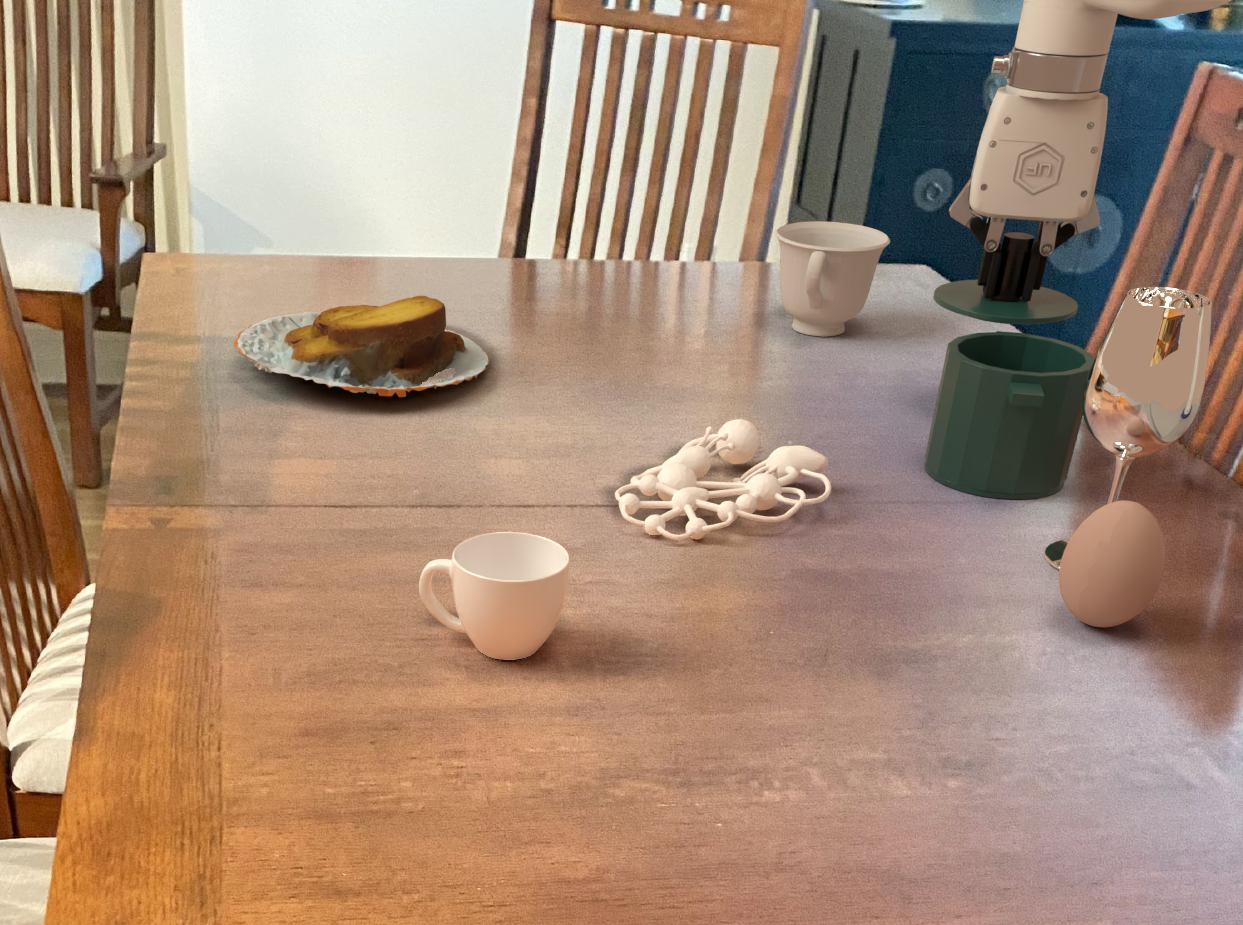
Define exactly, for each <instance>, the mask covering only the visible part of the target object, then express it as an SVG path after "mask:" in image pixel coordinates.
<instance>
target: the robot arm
mask: <svg viewBox="0 0 1243 925" xmlns="http://www.w3.org/2000/svg"><path fill="white" fill-rule="evenodd" d="M1232 1H1233V0H1023V4H1022V8H1021V14H1020V18H1019V23H1018V27H1017V32H1016V33H1017V34H1016V37H1015V43H1014V46H1013V47H1012V50H1011V51H1009V52H1008V54H1004V55H1003V56H1001V55H998V56H997V55H994V57H993V61H992V65H991V74H994V75H999V76H1000V77H1001V76H1002V77H1004V79H1005V81H1006V84H1005V86H1001V87H998V88H997V90H996V92H995V95H994V97H993V100H992V102H991V105H990V107H989V110H988V113H987V117H986V120H985V123H984V126H983V129H982V132H981V136H980V139H979V142H978V146H977V150H976V154H975V158H974V162H973V166H972V169H971V175H970V178H969V179H968V181H967V183H966V184H965V185H964V187H963V188H962V189H961V191H960V192H959V194H958V195H957V197H956V198H955V199H954V201H953V202H952V204H951V205H950V206H949V209H948V213H949V216H950V218H952V220H955V221H956V222H958V223H959V224H960V225H963V226H964V227H966V228H968V229H969V230H970V231H971V232H972V233H973V235H974V236H975V237H976V238H977V240H978V241H979V243H980V244H981V245H982V247H983V253H982V257H981V262H980V267H979V272H978V276H977V280H978V282H977V284H978V286H983V294H984V298H991V297H993V296H994V291H995V287H996V282H997V277H998V273H999V268H1000V264H1001V259H1002V252H1001V247H1002V243H1001V239H1002V235H1003V231H1004V227H1005V224H1006V221H1007V220H1008V219H1010V220H1024V221H1025V220H1026V221H1038V222H1039V225H1038V231H1037V237H1036V241H1034V242H1033V247H1032V251H1031V255H1030V259H1029V264H1028V268H1027V272H1026V277H1025V281H1024V286H1023V290H1022V294H1021V298H1022V299H1023V300H1024V301H1030V300H1031V296H1032V292H1033V290H1040V287H1042V282H1043V278H1044V274H1045V269H1046V265H1047V261H1048V257H1049V256H1051V255H1052V254H1053V253H1054V251H1055V250H1056V249H1058V248H1059V247H1060V246H1062V245H1063V244H1064V243H1066V242H1067V241H1068V240H1070V239H1071V238H1072V237H1074V236H1076V235H1080V234H1083V233H1085V232H1088V231H1091V230H1093V229H1096V228H1099V226H1100V224H1101V216H1100V212H1099V208H1098V205H1097V199H1096V195H1095V190H1096V186H1097V181H1098V175H1099V171H1100V166H1101V160H1102V155H1103V149H1104V143H1105V136H1106V127H1107V119H1108V107H1109V97H1108V96H1107V95H1106V94H1104V93H1101V92H1100V89H1101V85H1102V80H1103V76H1104V72H1105V70H1106V64H1107V60H1108V57H1109V52H1110V48H1111V44H1112V40H1113V35H1114V31H1115V27H1116V23H1117V20H1118V14H1119V15H1121V16H1124V17H1128V18H1132V19H1138V20H1158V19H1165V18H1171V17H1177V16H1179V15H1180V16H1181V15H1187V14H1193V13H1200V12H1205V11H1206V12H1207V11H1209V10H1213V9H1217V8H1219V7H1222V6H1224V5H1226V4H1228V3H1230V2H1232ZM984 217H987V219H986V220H985V219H984Z"/></svg>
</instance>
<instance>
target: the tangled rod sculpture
mask: <svg viewBox="0 0 1243 925" xmlns="http://www.w3.org/2000/svg"><path fill="white" fill-rule="evenodd" d="M760 435H761V434H760V432H759V430H758V428H757V427H756V425H754V424H753V423H752V422H751V421H749V420H746V419H744V418H743V419H742V418H736V419H730V420H729V421H727V422H725V423H724V424H723V425H722V426H721V427H720V428H719V429H718V432H717V433H714V428H713V426H707V427H706V428H705V434H704V436H700V437H697V438H695V439H691V440H690V441H688V442H687V443H685V444H683V446H682V447H680V449H679V451H677V453H676V454H674V455H672V456H671V457H668V459H666V460H665V461H664V462H663V463H662V464H660V465H657V466H654V467H651V468H648V469H646V470H645V471H644V472H642V473H640V474H636V475H633V476H632V477H631V479H630V483H628V484H625V485H622V486H620V487H619V488H618V489H616V490H615V492H614V498H615V500H616V501H617V502H618V508H619V511H620V514H621V516H622V517H623V519H624V520H625V521H627V522H629V523H630V524H632V525H635V526H639V527H643V529H644V532H645V533H646V534H647V533H648V534H649V535H648V534H647V535H648V536H650V535H659V536H660V535H662V536H664V538H667V539H670V540H674V541H681V540H682V541H683V540H686V539H689V538H690V539H691V540H694V539H695V540H696V541H697V540H701V539H704V537H705V536H706V535H707V533H708V532H710V531H716V530H720V529H723V528H726V527H729V526H730V525H731V524H732V523H733V522H734V521H736V520H737V518H738V517H740V518H743V519H747V520H750V521H755V522H759V523H781V522H784V521H786V520H788V519H790V518H791V517H792V516H793V515H795V514H796V513H797V512H798V511H799V510H800V508H802V507H803V506H810V505H816V504H820V503H822V502H825V500H827V499H828V498H829V496H830V495H831V493H832V484H831V483H832V482H831V481H830V480H829V478H828V477H827V476H826V475H825V474H823V472H824V471H825V470H827V469H828V466H829V460H828V458H827V457H826V456H825V455H823V454H821V453H820V452H818V451H816V450H815V449H813V448H810V447H809V446H805V445H798V444H797V445H783V446H780V447H777V448H775V449H774V450H773V451H772V452H771V453H770V455H769V456H768V457H767V458H766V459H765V460H763V461H761V462H759V463H756V465H754V466H752V467H751V468H749V469H748V470H747V471H746V472H744V473H743V474H742V475H741V476H740V477H734V478H733V479H732V482H731V481H710V480H706V481H705V480H698V479H701V478H702V477H704V476H705V475H707V473H709V471H710V469H711V466H712V462H713V460H712V458H713V457H714V456H715V455H719V457H720V458H721V459H723V460H724V461H725V462H727V463H728V464H732V465H741V464H745V463H747V462H750V461H751V460H752V459H753V458H754V457H755V456H756V455H757V454H758V451H759V449H760V444H761V436H760ZM705 445H706V446H705ZM714 445H715V450H713V451H711V452H710V451H709V450H710V449H711V448H712V447H713V446H714ZM808 477H809V478H811V479H816V480H820V481H822V482H823V484H824V487H825V488H824V489H825V491H824V492H823V494H821V495H820V496H817V497H815V498H807V495H806V493H805V492H804V490H802V489H801V488H797V487H790V485H792V484H795V483H797V482H800V481H801V480H803V479H805V478H808ZM788 486H789V487H788ZM634 489H638V490H639V491H640V492H641V494H643V495H644V496H645V497H652V496H655V495H656V494H657V495H658V497H659V498H660V499H661V500H640V499H639V497H638V495H636V494H635V493H631V492H627V493H625V494H623V495H621V494H622V493H624V492H626V491H629V490H634ZM708 489H713V490H708ZM715 489H716V490H715ZM782 494H793V495H798V496H799V499H792V498H788V497H785V496H783V495H782ZM736 496H738V497H737V499H736V500H735V501H732V500H725V501H722V502H721V503H720V504H718V503H714V502H710V501H708V500H709V499H717V498H725V497H726V498H727V497H736ZM778 503H782V504H785V505H787V506H788V505H789V506H792V507H791V508H790V509H789V510H788V511H786V512H785V513H784V514H782V515H777V516H764V515H759V514H754V513H755V511H756V510H757V511H767V510H771V509H772V508H774V507H775V506H776V505H777V504H778ZM698 508H699V509H703V510H707V511H711V512H713V513H714V512H715V513H716V515H717V517H718V519H719V520H720V521H721V522H719V523H714V524H708V523H707V522H706V521H705V520H704V519H703V518H701V517H697V515H696V512H695V511H696V510H697V509H698ZM640 509H670V510H668V511H666V512H664V513H662V514H657V513H656V514H650V515H649V516H647V517H646V518H645V519H644V520H641V519H637V518H635V517H632V515H634V514H636V513H637V512H639V510H640ZM630 515H631V516H630ZM677 516H681V517H685V516H687V518H688V521H687V522H686V524H685V533H682V534H674V533H671V532H669V531H667V530H665V529H666V524H667V523H666V522H668V521H670V520H672V519H673V518H676V517H677ZM695 540H694V541H695Z"/></svg>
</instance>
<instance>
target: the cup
mask: <svg viewBox="0 0 1243 925" xmlns="http://www.w3.org/2000/svg"><path fill="white" fill-rule="evenodd" d="M570 564H571V558H570V554H569V552H568V551H567V550H566V548H565V547H564V546H562V544H560V543H558V542H557V541H554V540H553V539H550V538H548V537H544V536H541V535H537V534H534V533H527V532H520V531H519V532H517V531H496V532H488V533H483V534H478V535H474V536H471V537H468V538H467V539H464V540H463V541H461V542H460V543H458V544H457V545H456V546H455V547H454V549H453V550H452V553H451V558H436V559H433V560H431V561H428V562H427V563H426V564H425V565H424V567H423V569H422V571H421V572H420V577H419V581H418V593H419V597H420V599H421V601H422V603H423V605H424V606H425V608H426V609H427V610H428V612H429V614H431V615H432V616H433V617H434V618H435V619H436V620H437V621H438V622H439V623H441V624H442V625H444V626H445V627H447V628H448V629H450V630H452V631H454V632H460V633H464V634H466V635H467V637H468V638H469V640H470V641H471V643H472V644H473V645H474V647H475V648H476V650H478V652H479V651H480V652H481V653H480V652H479V653H480V654H482V653H483V654H485V655H487V656H490V657H493V658H498V659H520V658H524V657H527V656H529V655H531V654H533V655H534V654H535V653H536V652H537V651H539V650H540V648H541V647H542V646H543V645H544V643H545V642H546V641H547V640H548V638H549V637H550V635H552V632H553V630H554V629H555V627H556V625H557V624H558V621H559V619H560V617H561V615H562V613H563V609H564V606H565V603H566V598H567V594H568V588H569V579H570ZM437 573H440V574H441V573H442V574H446V575H448V576H449V578H450V582H451V588H452V596H453V597H452V598H453V601H454V602H453V603H454V606H455V611H456V613H457V616H458V617H457V616H455V615H453V614H452V613H450V611H449V610H447V609H446V608H445V607H444V606H443V605H442V603H441V602H440V601H439V599H438V598H437V597H436V595H435V593H434V590H433V586H432V585H433V578H434V575H435V574H437ZM483 654H482V655H483ZM485 655H484V656H485Z"/></svg>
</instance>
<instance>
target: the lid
mask: <svg viewBox="0 0 1243 925" xmlns="http://www.w3.org/2000/svg"><path fill="white" fill-rule="evenodd" d="M1034 243H1035V236H1034V235H1032V234H1030V233H1026V232H1020V231H1019V232H1017V231H1015V232H1014V231H1013V232H1006V233H1004V234H1003V238H1002V243H1001V252H1002V259H1001V264H1000V268H999V273H998V277H997V282H996V287H995V291H994V296H993V297H991V298H984V294H983V286H978V284H977V282H978V279H965V280H955V281H952V282H946V283H944V284H941V285H939V286H937V287H936V288H935V289H934V292H933V296H932V297H933V301H934V302H935V303H936V304H937V305H938V306H940V307H941V308H943V309H945V310H947V311H950V312H952V313H955V314H958V315H962V316H965V317H969V318H972V319H975V320H979V321H982V322H983V321H984V322H988V323H997V324H1005V325H1040V324H1052V323H1059V322H1063V321H1066V320H1069V319H1072V318H1073V317H1074V316H1075V315H1077V312H1078V308H1079V304H1078V303H1077V301H1076V300H1075V299H1074V298H1072V297H1070V296H1069V295H1067V294H1065V293H1063V292H1061V291H1058V290H1055V289H1052V288H1048V287H1044V286H1041V287H1040V290H1033V292H1032V296H1031V300H1030V301H1024V300H1023V299H1022V298H1021V294H1022V290H1023V286H1024V281H1025V277H1026V272H1027V268H1028V264H1029V259H1030V255H1031V251H1032V248H1033V244H1034Z"/></svg>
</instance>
